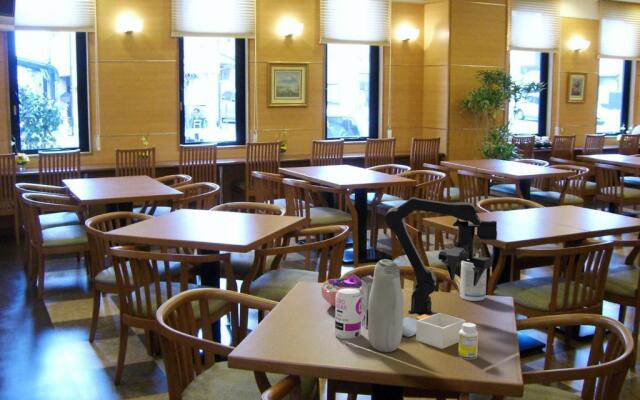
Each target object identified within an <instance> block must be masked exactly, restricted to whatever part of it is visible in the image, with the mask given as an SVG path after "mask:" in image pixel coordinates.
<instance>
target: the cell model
mask: <svg viewBox="0 0 640 400" xmlns="http://www.w3.org/2000/svg"><path fill="white" fill-rule="evenodd" d="M341 288H355V289H358V290H360V293H361V294H362V278H361V279H360V277H359V276H357V275H356V274H353V273H351V274H348V275H347V277H340V278H339V277H338V278H331V279H328V280H326V281H324V282H323V283H322V285H321V297H322V298H323V299H324V300H325V301H326V302H327V303H328V304H330V305H331V306H333V307H335V308H336V293H337V292H338V290H339V289H341Z"/></svg>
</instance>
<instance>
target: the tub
mask: <svg viewBox="0 0 640 400" xmlns="http://www.w3.org/2000/svg"><path fill="white" fill-rule="evenodd" d="M466 321H467V320H466V319H463V318H459V317H456V316H453V315H449V314H446V313H442V312H437V313H435V314H430V315H429V316H428V317H426V318H423V319H420V320H417V326H416V334H415V341H417V342H419V343H423V344H426V345H430V346H431V347H435V348H438V349H441V350H442V349H445V348H448V347H451V346H453V345H455V344H457V343H458V344H459V331H460V330H461V329H462V324H463V323H466Z"/></svg>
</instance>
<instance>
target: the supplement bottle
mask: <svg viewBox="0 0 640 400" xmlns="http://www.w3.org/2000/svg"><path fill="white" fill-rule="evenodd" d="M478 344H479V332H478V331H477V325H476V324H475V323H473V322H465V323H463V324H462V329H461V330H460V331H459V342H458V350H457V351H458V353H457V356H458V357H459V358H460V359H464V360H474V359H475V360H476V359H477V358H478V352H479V351H478V348H479V347H478V346H479V345H478Z"/></svg>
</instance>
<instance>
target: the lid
mask: <svg viewBox="0 0 640 400" xmlns="http://www.w3.org/2000/svg"><path fill="white" fill-rule="evenodd" d="M428 316H430V314H428V315H426V314H424V315H418V316H417V317H416V316H415V318H412V317H409V316H406V317H403V326H402V336H404V337H407V338H409V337H413V336H414V335H416V326H417V320H420V319H423V318H426V317H428Z"/></svg>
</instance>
